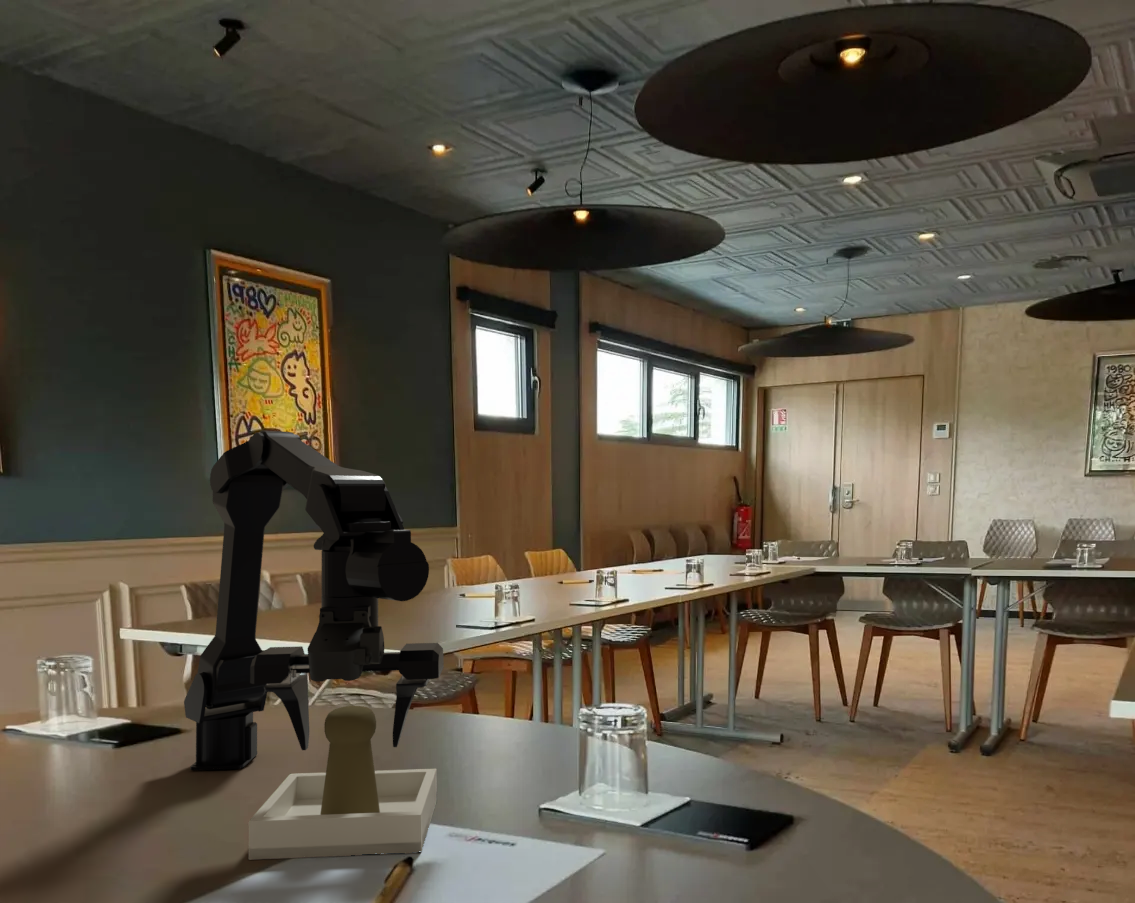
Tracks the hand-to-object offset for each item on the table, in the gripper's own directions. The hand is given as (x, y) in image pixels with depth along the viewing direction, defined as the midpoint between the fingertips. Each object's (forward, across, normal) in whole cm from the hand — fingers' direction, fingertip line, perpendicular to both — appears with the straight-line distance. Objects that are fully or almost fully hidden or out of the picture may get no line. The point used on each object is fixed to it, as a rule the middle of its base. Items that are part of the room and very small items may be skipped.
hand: (350, 747), depth 87 cm
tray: (+8, 0, 0) cm, 8 cm away
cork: (+7, 0, 0) cm, 7 cm away
